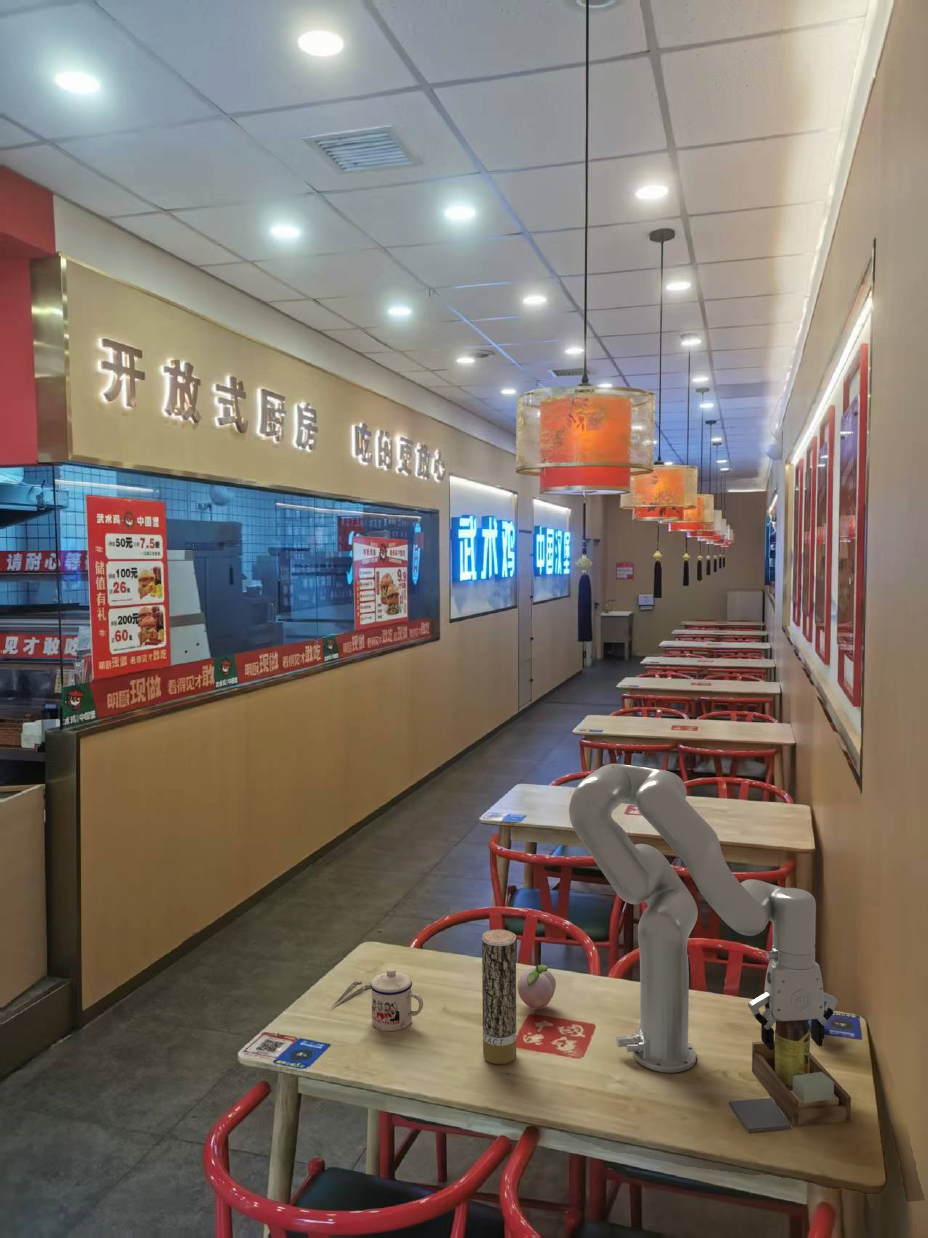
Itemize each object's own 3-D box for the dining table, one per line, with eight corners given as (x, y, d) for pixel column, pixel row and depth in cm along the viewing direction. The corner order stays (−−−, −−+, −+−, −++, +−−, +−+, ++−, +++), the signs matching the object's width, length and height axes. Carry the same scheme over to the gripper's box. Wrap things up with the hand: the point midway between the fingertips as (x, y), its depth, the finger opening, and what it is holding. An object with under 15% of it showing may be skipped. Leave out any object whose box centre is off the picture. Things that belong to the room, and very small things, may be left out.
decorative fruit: (524, 996, 204) (524, 954, 203) (559, 1002, 201) (559, 959, 201) (512, 1015, 195) (511, 971, 195) (547, 1022, 192) (547, 977, 192)
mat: (747, 1132, 155) (747, 1128, 155) (729, 1104, 163) (729, 1101, 163) (791, 1128, 156) (791, 1125, 156) (770, 1101, 164) (770, 1098, 164)
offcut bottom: (796, 1121, 158) (796, 1102, 158) (786, 1109, 162) (787, 1091, 161) (838, 1117, 159) (838, 1099, 159) (828, 1106, 162) (828, 1087, 162)
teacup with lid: (363, 1028, 191) (362, 975, 190) (382, 1008, 199) (381, 957, 198) (414, 1038, 186) (413, 984, 186) (431, 1017, 195) (430, 966, 194)
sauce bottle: (812, 1098, 164) (813, 995, 163) (776, 1095, 166) (778, 992, 164) (806, 1078, 171) (807, 978, 169) (772, 1075, 172) (773, 975, 171)
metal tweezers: (357, 983, 212) (357, 975, 212) (374, 988, 210) (373, 980, 210) (312, 1021, 197) (311, 1013, 197) (329, 1027, 195) (328, 1018, 195)
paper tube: (498, 1043, 184) (498, 926, 182) (523, 1056, 179) (522, 936, 178) (475, 1056, 179) (475, 936, 178) (500, 1070, 174) (499, 946, 173)
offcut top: (804, 1103, 158) (804, 1087, 157) (792, 1092, 161) (792, 1076, 161) (833, 1098, 159) (834, 1082, 159) (821, 1087, 162) (821, 1071, 162)
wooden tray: (793, 1126, 156) (794, 1093, 156) (751, 1071, 173) (752, 1042, 173) (850, 1121, 157) (851, 1089, 157) (803, 1067, 174) (803, 1038, 174)
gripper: (758, 968, 162) (757, 1058, 163) (847, 962, 164) (846, 1051, 165) (741, 950, 169) (740, 1037, 170) (826, 945, 171) (825, 1030, 172)
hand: (792, 1044), depth 168 cm, fingers open, 9 cm apart
